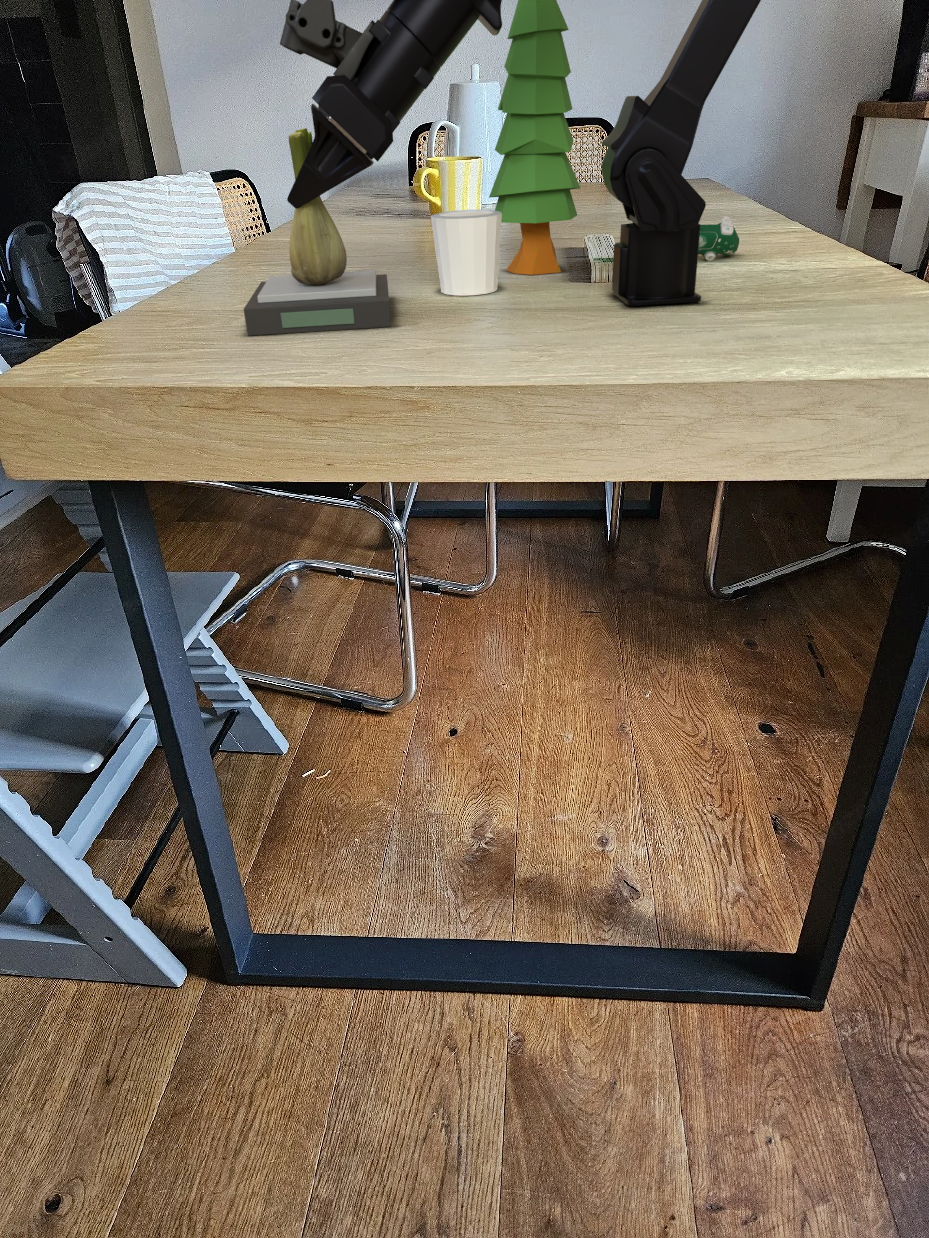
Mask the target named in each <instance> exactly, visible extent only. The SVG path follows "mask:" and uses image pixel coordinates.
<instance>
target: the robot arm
mask: <svg viewBox="0 0 929 1238" xmlns="http://www.w3.org/2000/svg"><path fill="white" fill-rule="evenodd" d="M761 1H762V0H701V1H700V3H699V6H698V7H697V9H696V11H695V13H694V15H693V17H692V19H691V21H689V22H690V23H689V25H688V26H687V28H686V30H685V32H684V34H683V35H682V38H681V39H680V42H679V43H678V45H677V47H676V48H675V50H674V53H673V55H672V57H671V59H670V61H669V63H668V65H667V66H666V68H665V70H664V72H663V74H662V76H661V78H660V80H659V81H658V82H657V83H656V85H655V86H654V87H653V88H652V89H651V91H650V92H649V93H648V95H647V96H646V97H645V98H644V99H643V98H642V97H640V95H627V96H626V97H625V98H624V101H623V103H622V106H621V109H620V112H619V115H618V118H617V120H616V123H615V125H614V127H613V128H612V130H611V131H610V133H609V135H607V136H606V137H605V138H604V139H603V140H602V141H601V145H602V146H604V147H606V151H605V153H604V156H603V158H602V160H601V161H602V162H601V175H602V179H603V184H604V186H605V187H606V189H607V191H608V193H609V194H610V195H611V196H612V197H614V198H615V199H616V200H617V201H618V202H619V203H621V204H622V207H623V211H624V213H625V217H626V219H627V220H628V221H631V222H629V223H621V224H620V232H619V233H620V236H619V242H615V243H614V244H613V254H612V255H613V257H612V259H613V261H612V279H611V280H612V281H611V282H612V285H611V288H612V289H611V291H612V294H613V295H614V296H615V297H616V298H617V299H619V300H620V301H622V302H623V303H624V304H625V305H627V306H629V307H637V306H653V305H654V306H655V305H667V304H668V305H670V304H687V303H699V302H700V303H701V300H702V295H701V294H699V293H698V292H696V284H697V283H696V282H697V272H698V262H699V261H698V260H699V254H698V249H699V237H700V225H702V224H701V223H700V222H701V219H702V216H703V214H704V211H705V209H706V206H707V203H706V200H705V199H704V198H703V197H702V196H701V194H699V192H698V191H697V190H696V189H695V188H694V187H693V185H691V184H690V183H689V182H688V180H687V179H686V178H685V177H684V176H683V172H684V170H685V167H686V164H687V162H688V159H689V157H690V154H691V151H692V148H693V146H694V141H695V138H696V134H697V130H698V127H699V124H700V120H701V116H702V112H703V108H704V105H705V104H706V101H707V99H708V97H709V95H710V94H711V91H712V90H713V88H714V86H715V84H716V82H717V81H718V79H719V77H720V76H721V73H722V72H723V71H724V68H725V67H726V65H727V63H728V62H729V60H730V57H731V55H732V54H733V52H734V50H735V48H736V46H737V45H738V43H739V41H740V40H741V37H742V36H743V34H744V32H745V30H746V29H747V27H748V25H749V22H750V21H751V19H752V17H753V16H754V14H755V12H756V11H757V8H758V7H759V5H760V3H761ZM502 3H503V0H392V2H391V3H390V4H389V6H388V7H387V8H386V10H385V11H384V12H383V14H382V15H381V16H380V18H379V19H376V21H374V20H373V19H372V20H371V21H370V22H369V23H368V25H367V26H366V27H365V29H364V30H363V32H361V31H359V30H356V29H355V28H353V27H351V26H349V25H347V24H346V23H344V22H342V21H339V20H337V19H336V12H335V4H334V1H333V0H305V2H304V3H302V2H300V1H298V0H290V2H289V6H288V9H287V12H286V14H285V21H284V25H283V28H282V33H281V36H280V41H279V45H280V46H282V47H283V48H285V49H287V50H289V51H290V52H293V53H296V54H298V55H301V56H302V55H306V56H308V57H311V58H313V59H315V60H317V61H319V62H322V63H323V64H325V65H327V66H330V67H332V68H334V69H335V70H334V72H333V73H332V74H333V75H327V76H326V77H325V79H324V80H323V82H321V84H320V85H319V87H318V88H317V89H316V91H315V93H314V95H312V97H311V99H312V100H313V101H314V103H316V104H317V105H318V107H317V105H315V104H314V103H311V105H310V111H311V112H310V113H311V116H312V123H313V132H314V137H313V139H312V142H313V143H312V145H311V147H310V149H309V151H308V154H307V156H306V158H305V160H304V162H303V165H302V167H301V169H300V171H299V173H298V176H297V178H296V180H295V179H294V182H293V185H292V187H291V189H290V191H289V193H288V195H287V198H286V201H287V202H288V203H289V205H291V206H292V207H293V208H294V209H295V208H296V209H298V208H300V207H302V206H303V205H305V204H307V203H309V202H310V201H312V200H314V199H315V198H317V197H319V196H320V197H321V196H322V195H323V194H325V193H327V192H328V191H331V190H332V189H334V188H335V187H337V186H339V185H341V184H342V183H344V182H346V181H348V180H349V179H351V178H352V177H354V176H356V175H358V174H359V173H362V172H363V171H365V170H366V169H368V168H370V167H372V166H373V165H374V160H375V161H376V162H379V161H380V160H381V159H382V157H383V156H384V155H385V153H386V152H387V150H388V149H389V148H390V147H391V145H392V144H393V143H394V132H395V131H396V129H397V128H398V127H399V126H400V124H401V121H402V120H403V119H404V117H405V116H406V115H407V114H408V112H409V111H410V109H411V108H412V107H413V105H414V104H415V103H416V102H417V100H418V99H419V98H420V97H421V95H422V94H423V92H424V91H425V90H426V89H428V87H429V86H430V84H431V83H432V82H433V80H434V79H435V76H436V75H438V73H439V71H440V70H441V68H442V67H443V66H444V65H445V63H446V62H447V61H448V59H449V58H450V57H451V56H452V54H453V53H454V51H456V49H457V48H458V46H459V45H460V44H461V42H462V41H463V39H465V37H466V35H468V33H469V32H470V30H471V29H472V28H473V26H474V25H475V24H476V22H477V21H479V23H481V24H482V26H483V27H484V28H485V29H486V30H487V31H488V32H489V33H490V34H491V35H492V36H495V37H496V36H498V35H499V34H500V32H501V29H502V27H503V20H502ZM373 159H374V160H373Z"/></svg>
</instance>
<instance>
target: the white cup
mask: <svg viewBox="0 0 929 1238" xmlns="http://www.w3.org/2000/svg"><path fill="white" fill-rule="evenodd" d="M501 220H502V212H499V211H495V209H494V210H492V209H459V210H458V209H457V210H449V211H442V212H439V213H435V214H431V215H430V222H431V228H432V235H433V242H434V243H433V244H434V249H435V257H436V264H437V271H438V279H439V285H440V286H439V287H440V292H441V293H442V294H443V295H448V296H460V297H461V296H462V297H463V296H479V295H487V294H491V293H494V292H496V291H498V287H499V286H498V285H499V269H500V251H501V236H502V223H501Z"/></svg>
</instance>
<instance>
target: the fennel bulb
mask: <svg viewBox="0 0 929 1238" xmlns="http://www.w3.org/2000/svg"><path fill="white" fill-rule="evenodd" d="M312 143H313V135H312V131H308V128H307V127H304V128H300V129H297V130H295V131H294V132H292V133H290V134H289V135H288V144H289V145H288V146H289V149H290V157H291V162H292V169H293V174H294V181H295V180H296V178H297V176H298V173H299V171H300V169H301V167H302V165H303V162H304V160H305V158H306V156H307V154H308V151H309V149H310V147H311V145H312ZM288 249H289V250H288V251H289V262H290V273H291V275H292V276H293V277H294V278H295V279H296V280H297V281H298V282H299V283H302V284H311V285H321V284H324V283H327V282H330V281H333V280H335V279H337V278H339V277H341V276H342V275H343V273H344V272H346V268H347V262H348V261H347V251H346V248H345V244H344V241H343V238H342V236H341V234H340V231H339V230H338V228H337V225H336V224H335V222H334V220H333V218H332V216H331V215H330V213H329V211H328V209H327V207H326V205H325V204H324V202H323V200H322V196H321V195H320V196H319V197H317V198H315V199H314V200H312V201H310V202H309V203H307V204H305V205H303V206H302V207H300V208H298V209H296V208H294V211H293V217H292V222H291V228H290V234H289V248H288Z"/></svg>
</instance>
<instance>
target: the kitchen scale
mask: <svg viewBox="0 0 929 1238" xmlns="http://www.w3.org/2000/svg"><path fill="white" fill-rule="evenodd" d="M388 282H389V281H388V274H387V273H384V274H382V273H381V274H377V270H376V269H365V270H352V271H350V270H349V271H344V273H343V275H342V276H341V277H339V278H337V279H335V280H333V281H330V282H327V283H324V284H321V285H311V284H302V283H299V282H298V281H297V280H296V279H295V278H294V277H293V276H292V274H286V275H285V274H283V275H270V276H269V277H268V278H267V280H266V281H261V282H260V283H259V285H258V286H257V288H256V289H255V290H254V292H253V294H252V295H251V297H250V298H249V300H248V301H247V303H246V304H245V306H244V307H243V314H244V320H245V326H246V334H247V336H248V337H250V336H266V335H281V334H282V335H283V334H296V333H312V332H328V331H346V330H360V329H362V330H363V329H376V328H390V327H391V326H392V325H391V309H390V294H389V293H390V292H389V283H388Z"/></svg>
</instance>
